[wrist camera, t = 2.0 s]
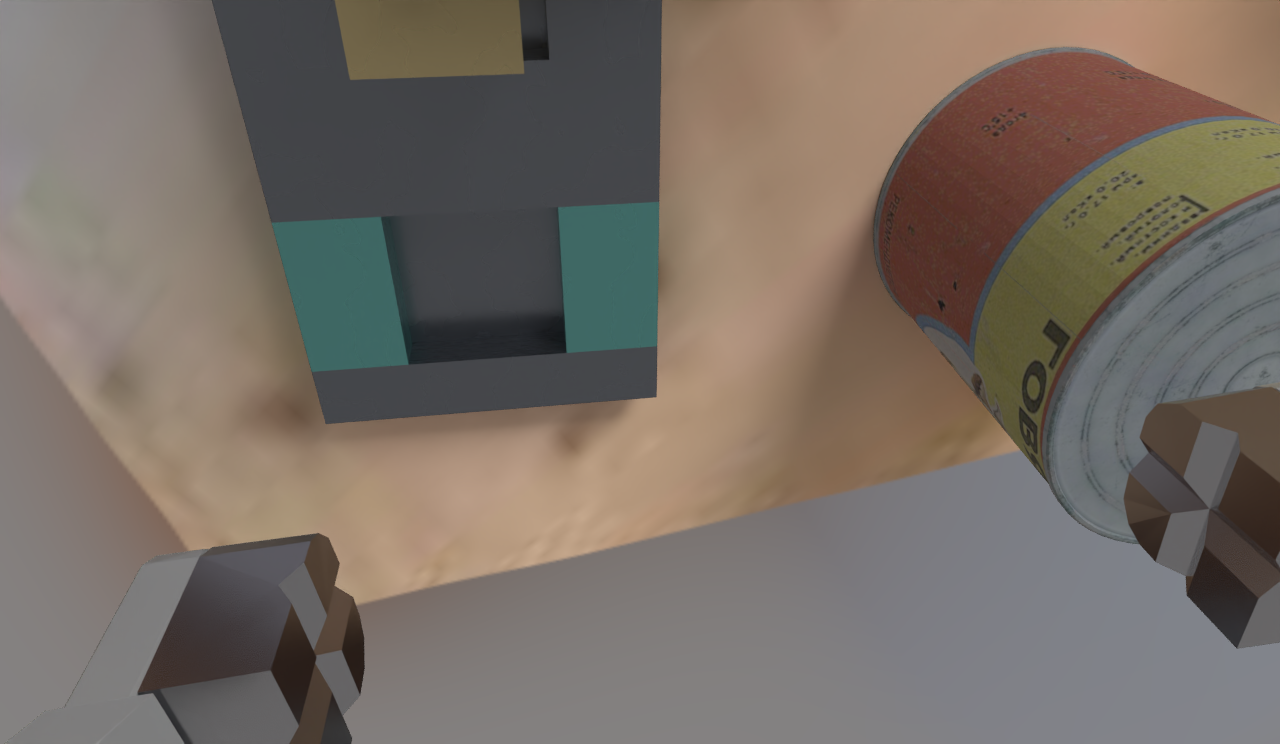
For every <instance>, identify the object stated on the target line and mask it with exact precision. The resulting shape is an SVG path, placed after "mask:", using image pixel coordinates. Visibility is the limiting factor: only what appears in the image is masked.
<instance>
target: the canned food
mask: <svg viewBox="0 0 1280 744" xmlns="http://www.w3.org/2000/svg"><path fill="white" fill-rule="evenodd" d="M874 252H875V258H876V263H877V267H878V270H879V273H880V276H881V278H882V281H883V283H884V285H885V287H886V289H887V290H888V292H889V293H890V295H891V297H892V298H893V299H894V300H895V302H896V303H897V304H898V305H899V306H900V308H901V309H902V310H904V311H905V312H906V313H907V314H908V315H909V316H910V317H912V318H913V319H914V321H915V322H916V323H917V324H918V325H919V327H920V328H921V329H922V330H923V332H924V333H925V334H926V335H927V336H928V338H929V339H930V340H931V341H932V343H933V344H934V345H935V346H936V347H937V349H938V350H939V351H940V352H941V353H942V355H943V356H944V357H945V358H946V360H947V361H948V362H949V363H950V364H951V366H952V367H953V368H954V369H955V371H956V372H957V373H958V374H959V375H960V377H961V378H962V379H963V380H964V381H965V383H966V384H967V385H968V386H969V388H970V389H971V390H972V391H973V392H974V394H975V395H976V396H977V397H978V399H979V400H980V401H981V402H982V403H983V405H984V406H985V407H986V408H987V409H988V411H989V412H990V413H991V414H992V416H993V417H994V418H995V419H996V420H997V422H998V423H999V424H1000V425H1001V427H1002V428H1003V429H1004V430H1005V431H1006V433H1007V434H1008V435H1009V436H1010V437H1011V439H1012V440H1013V441H1014V442H1015V444H1016V445H1017V446H1018V447H1019V448H1020V450H1021V451H1022V452H1023V453H1024V454H1025V456H1026V457H1027V458H1028V459H1029V461H1030V462H1031V463H1032V464H1033V465H1034V467H1035V468H1036V469H1037V470H1038V472H1039V473H1040V474H1041V475H1042V476H1043V478H1044V479H1045V480H1046V481H1047V482H1048V484H1049V486H1050V488H1051V490H1052V492H1053V494H1054V495H1055V497H1056V498H1057V500H1058V502H1059V503H1060V504H1061V505H1062V506H1063V508H1064V509H1065V510H1066V511H1067V513H1068V514H1069V515H1070V516H1071V517H1073V518H1074V519H1075V520H1076V521H1077V522H1079V524H1081V525H1083V526H1084V527H1086V528H1087V529H1089V530H1090V531H1093V532H1095V533H1097V534H1099V535H1101V536H1104V537H1107V538H1110V539H1113V540H1117V541H1122V542H1127V543H1133V544H1139V543H1138V541H1137V539H1136V537H1135V535H1134V534H1133V532H1132V530H1131V528H1130V526H1129V524H1128V520H1127V515H1126V510H1125V504H1124V499H1123V498H1124V493H1125V489H1126V485H1127V480H1128V476H1129V472H1130V471H1131V470H1132V469H1133V468H1134V467H1135V466H1136V465H1137V464H1138V463H1139V462H1140V461H1141V460H1142V459H1143V458H1144V457H1145V456H1146V455H1147V454H1148V453H1149V452H1148V451H1147V449H1146V447H1145V446H1144V444H1143V443H1142V441H1141V439H1140V438H1139V437H1140V434H1141V431H1142V427H1143V424H1144V421H1145V418H1146V416H1147V415H1148V414H1149V413H1150V411H1151V410H1152V409H1153V408H1154V407H1155V406H1156V405H1157V404H1158V403H1164V402H1170V401H1176V400H1182V399H1189V398H1195V397H1201V396H1207V395H1213V394H1220V393H1226V392H1232V391H1238V390H1244V389H1252V388H1254V387H1256V386H1261V385H1267V384H1272V383H1278V382H1280V125H1279V124H1276V123H1274V122H1271V121H1269V120H1266V119H1264V118H1261V117H1258V116H1256V115H1253V114H1251V113H1248V112H1246V111H1243V110H1241V109H1238V108H1236V107H1233V106H1230V105H1228V104H1225V103H1223V102H1220V101H1218V100H1215V99H1213V98H1210V97H1207V96H1205V95H1202V94H1200V93H1197V92H1195V91H1192V90H1190V89H1187V88H1185V87H1182V86H1179V85H1177V84H1174V83H1172V82H1169V81H1167V80H1164V79H1162V78H1159V77H1157V76H1154V75H1151V74H1149V73H1146V72H1144V71H1141V70H1139V69H1136V68H1135V67H1133V66H1131V65H1130V64H1128V63H1127V62H1125V61H1123V60H1121V59H1119V58H1117V57H1114V56H1112V55H1110V54H1107V53H1103V52H1100V51H1096V50H1092V49H1085V48H1073V47H1061V48H1049V49H1043V50H1038V51H1033V52H1029V53H1026V54H1022V55H1019V56H1016V57H1013V58H1011V59H1008V60H1005V61H1003V62H1000V63H998V64H996V65H994V66H992V67H990V68H988V69H986V70H984V71H983V72H981V73H979V74H977V75H976V76H974V77H972V78H971V79H969V80H968V81H966V82H965V83H964V84H962V85H961V86H959V87H958V88H957V89H955V90H954V91H953V92H952V93H950V94H949V95H948V96H947V97H946V98H944V99H943V100H942V101H941V102H940V103H939V104H938V105H937V106H936V107H935V108H934V109H933V110H932V111H931V112H930V113H929V114H928V115H927V116H926V117H925V118H924V119H923V120H922V122H921V123H920V124H919V125H918V126H917V127H916V129H915V130H914V131H913V133H912V134H911V135H910V137H909V138H908V139H907V141H906V142H905V144H904V145H903V147H902V149H901V150H900V152H899V153H898V155H897V157H896V159H895V161H894V163H893V164H892V166H891V168H890V170H889V173H888V175H887V177H886V180H885V182H884V185H883V188H882V191H881V194H880V197H879V201H878V205H877V209H876V215H875V222H874Z"/></svg>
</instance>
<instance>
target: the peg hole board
mask: <svg viewBox="0 0 1280 744" xmlns="http://www.w3.org/2000/svg"><path fill="white" fill-rule="evenodd" d="M212 3H213V7H214V10H215V14H216V18H217V21H218V25H219V29H220V33H221V36H222V40H223V44H224V47H225V51H226V55H227V59H228V62H229V66H230V70H231V73H232V77H233V81H234V85H235V88H236V92H237V96H238V99H239V103H240V107H241V111H242V114H243V118H244V122H245V126H246V129H247V133H248V137H249V140H250V144H251V148H252V152H253V155H254V159H255V163H256V166H257V170H258V174H259V178H260V181H261V185H262V189H263V192H264V196H265V200H266V204H267V207H268V211H269V215H270V218H271V222H272V226H273V230H274V233H275V237H276V241H277V244H278V248H279V252H280V256H281V259H282V263H283V267H284V270H285V274H286V278H287V282H288V285H289V289H290V293H291V296H292V300H293V304H294V308H295V311H296V315H297V319H298V323H299V326H300V330H301V334H302V337H303V341H304V345H305V349H306V352H307V356H308V360H309V363H310V367H311V371H312V375H313V378H314V382H315V386H316V389H317V393H318V397H319V401H320V404H321V408H322V412H323V415H324V419H325V423H326V424H331V423H343V422H356V421H368V420H380V419H393V418H405V417H417V416H430V415H442V414H454V413H467V412H479V411H491V410H504V409H516V408H528V407H541V406H553V405H565V404H578V403H590V402H602V401H615V400H627V399H639V398H652V397H656V392H657V317H658V243H659V168H660V94H661V19H662V0H519V9H520V23H521V36H522V49H523V62H524V74H503V75H474V76H446V77H418V78H389V79H361V80H350V77H349V72H348V67H347V62H346V56H345V51H344V46H343V41H342V36H341V30H340V25H339V20H338V15H337V9H336V4H335V0H212Z"/></svg>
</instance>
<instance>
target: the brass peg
mask: <svg viewBox="0 0 1280 744" xmlns="http://www.w3.org/2000/svg"><path fill="white" fill-rule="evenodd" d="M335 4H336V9H337V15H338V20H339V25H340V30H341V36H342V41H343V46H344V51H345V56H346V62H347V67H348V72H349V77H350V80H361V79H389V78H418V77H446V76H474V75H503V74H524V62H523V49H522V36H521V23H520V9H519V0H335Z"/></svg>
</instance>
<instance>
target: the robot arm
mask: <svg viewBox="0 0 1280 744" xmlns="http://www.w3.org/2000/svg"><path fill="white" fill-rule="evenodd" d="M1139 438H1140V439H1141V441H1142V443H1143V444H1144V446H1145V447H1146V449H1147V451H1148V452H1149V453H1148V454H1147V455H1146V456H1145V457H1144V458H1143V459H1142V460H1141V461H1140V462H1139V463H1138V464H1137V465H1136V466H1135V467H1134V468H1133V469H1132V470H1131V471H1130V472H1129V476H1128V480H1127V485H1126V489H1125V493H1124V498H1123V499H1124V504H1125V510H1126V515H1127V520H1128V524H1129V526H1130V528H1131V530H1132V532H1133V534H1134V535H1135V537H1136V539H1137V541H1138V543H1139V544H1140V545H1141V546H1142V547H1143V549H1144V550H1145V551H1146V552H1147V553H1148V554H1149V555H1150V556H1151V557H1152V558H1153V560H1154V561H1155V562H1157V563H1159V564H1161V565H1163V566H1165V567H1168V568H1170V569H1172V570H1174V571H1176V572H1179V573H1181V574H1183V575H1185V576H1186V592H1187V596H1188V597H1189V598H1190V599H1191V600H1192V602H1193V603H1194V604H1195V605H1196V606H1197V607H1198V608H1199V609H1200V610H1201V611H1202V612H1203V613H1204V614H1205V615H1206V616H1207V617H1208V618H1209V619H1210V621H1211V622H1212V623H1213V624H1214V625H1215V626H1216V627H1217V628H1218V629H1219V630H1220V631H1221V632H1222V633H1223V634H1224V635H1225V636H1226V638H1227V639H1228V640H1229V641H1230V642H1231V643H1232V644H1233V645H1234V646H1235V647H1236V648H1245V647H1252V646H1259V645H1265V644H1272V643H1279V642H1280V382H1278V383H1272V384H1267V385H1261V386H1256V387H1254V388H1252V389H1244V390H1238V391H1232V392H1226V393H1220V394H1213V395H1207V396H1201V397H1195V398H1189V399H1182V400H1176V401H1170V402H1164V403H1158V404H1157V405H1156V406H1155V407H1154V408H1153V409H1152V410H1151V411H1150V413H1149V414H1148V415H1147V416H1146V418H1145V421H1144V424H1143V427H1142V431H1141V434H1140V437H1139ZM339 564H340V563H339V561H338V558H337V556H336V554H335V552H334V549H333V547H332V545H331V542H330V540H329V538H328V537H326V536H324V535H321V534H319V533H316V534H308V535H301V536H293V537H286V538H278V539H271V540H263V541H256V542H248V543H241V544H233V545H226V546H218V547H212V548H210V549H201V550H194V551H187V552H180V553H172V554H166V555H159V556H155V557H154V558H152V559H151V560H149V561H148V562H146V563H145V564H143V565H142V566H141V568H140V569H139V571H138V573H137V575H136V577H135V578H134V580H133V582H132V584H131V586H130V588H129V589H128V591H127V593H126V595H125V597H124V599H123V600H122V602H121V604H120V606H119V608H118V610H117V612H116V613H115V615H114V617H113V619H112V621H111V622H110V624H109V626H108V628H107V630H106V632H105V634H104V635H103V637H102V639H101V641H100V643H99V645H98V646H97V649H96V650H95V652H94V654H93V656H92V658H91V659H90V661H89V663H88V665H87V667H86V668H85V670H84V672H83V674H82V676H81V678H80V680H79V681H78V683H77V685H76V687H75V689H74V690H73V692H72V694H71V696H70V698H69V700H68V702H67V704H66V705H65V707H64V708H59V709H54V710H48V711H44V712H43V713H42V714H40V715H39V716H38V717H37V718H36V719H34V720H33V721H32V722H31V723H29V724H28V725H27V726H26V727H24V728H23V729H22V730H21V731H19V732H18V733H17V734H16V735H14V736H13V737H12V738H11V739H10V740H8V741H7V742H6V743H5V744H351V742H352V737H351V734H350V732H349V730H348V728H347V725H346V723H345V721H344V718H343V715H344V713H345V712H346V711H347V710H348V709H349V707H351V705H352V704H353V703H354V702H355V701H356V700H357V699H358V697H359V696H360V693H361V687H362V681H363V675H364V669H365V668H364V667H365V665H364V635H363V630H362V625H361V620H360V615H359V613H358V610H357V607H356V604H355V602H354V599H353V597H352V596H350V595H349V594H347V593H345V592H344V591H342V590H341V589H339V588H337V587H336V586H334V585H335V581H336V577H337V573H338V569H339Z"/></svg>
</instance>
